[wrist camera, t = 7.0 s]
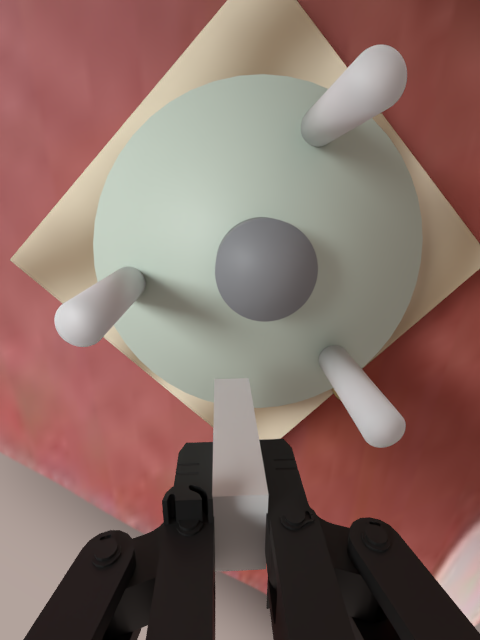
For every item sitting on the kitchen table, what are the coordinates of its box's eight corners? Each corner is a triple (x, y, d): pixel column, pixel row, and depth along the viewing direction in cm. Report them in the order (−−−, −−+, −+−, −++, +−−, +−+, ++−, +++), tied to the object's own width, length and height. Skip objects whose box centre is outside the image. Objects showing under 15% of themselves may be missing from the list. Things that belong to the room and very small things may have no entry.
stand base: (29, 254, 20) (-4, 263, 17) (259, -16, 17) (267, -63, 14) (254, 443, 25) (258, 477, 22) (469, 257, 22) (510, 265, 19)
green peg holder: (232, 444, 22) (237, 560, 15) (32, 232, 18) (-96, 251, 11) (463, 284, 20) (601, 330, 13) (295, -3, 16) (359, -184, 8)
